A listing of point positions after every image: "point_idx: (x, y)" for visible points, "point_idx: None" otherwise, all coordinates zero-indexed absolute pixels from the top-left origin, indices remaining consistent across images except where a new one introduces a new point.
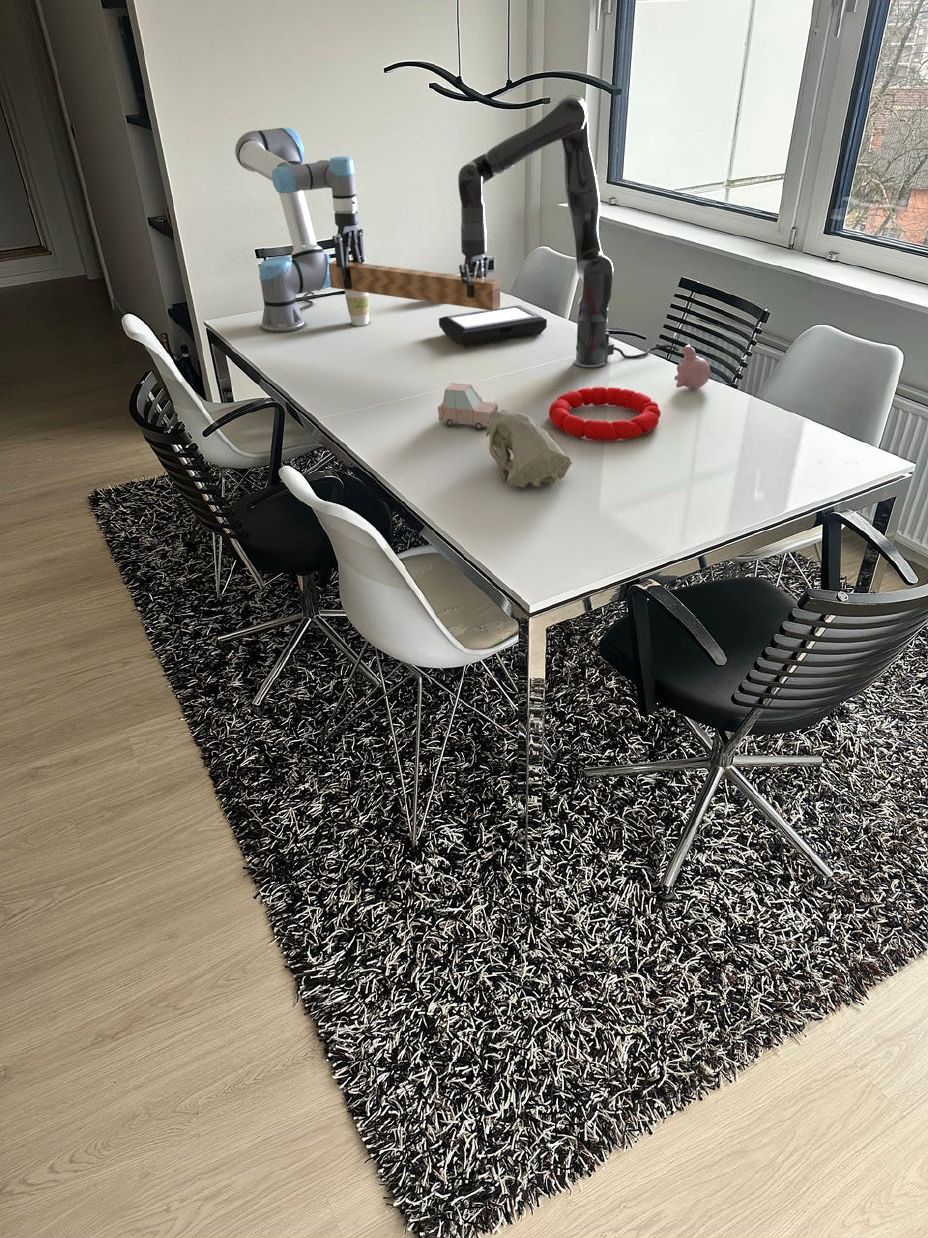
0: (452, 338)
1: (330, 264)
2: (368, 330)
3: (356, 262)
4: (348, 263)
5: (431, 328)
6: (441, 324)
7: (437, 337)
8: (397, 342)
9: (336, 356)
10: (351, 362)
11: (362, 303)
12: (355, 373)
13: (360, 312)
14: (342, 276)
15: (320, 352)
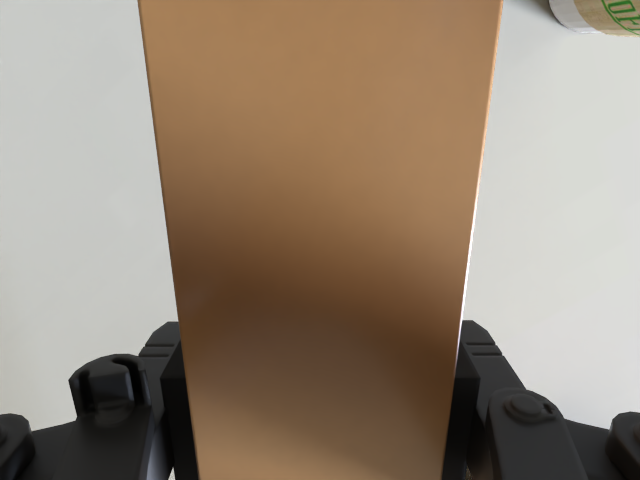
0: None
1: (150, 64)
2: (493, 108)
3: (476, 463)
4: (331, 415)
5: (604, 341)
6: None
7: None
8: None
9: (112, 215)
10: (98, 311)
11: (635, 27)
12: (24, 387)
13: (591, 16)
14: (149, 340)
15: (106, 113)
